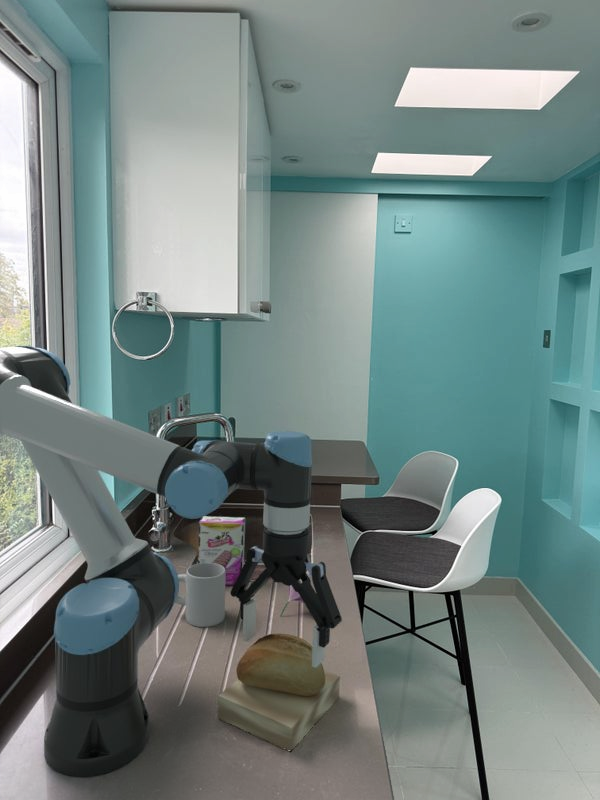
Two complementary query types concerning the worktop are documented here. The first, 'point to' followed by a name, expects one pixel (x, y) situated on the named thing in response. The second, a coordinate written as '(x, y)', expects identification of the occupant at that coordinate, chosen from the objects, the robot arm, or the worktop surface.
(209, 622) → the mug
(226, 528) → the candy bar box
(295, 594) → the lily
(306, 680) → the bread roll
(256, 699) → the wooden base
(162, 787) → the worktop surface
